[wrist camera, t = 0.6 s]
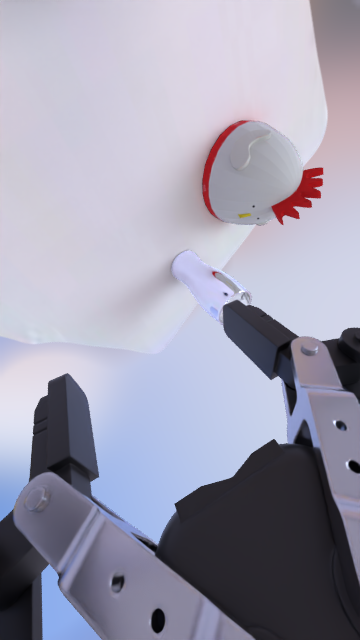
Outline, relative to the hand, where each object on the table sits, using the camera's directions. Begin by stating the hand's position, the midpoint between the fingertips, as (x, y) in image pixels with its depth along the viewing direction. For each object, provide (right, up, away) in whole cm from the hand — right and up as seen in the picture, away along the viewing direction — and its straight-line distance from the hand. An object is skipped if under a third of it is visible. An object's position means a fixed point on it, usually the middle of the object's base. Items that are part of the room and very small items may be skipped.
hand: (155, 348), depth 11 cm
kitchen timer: (+11, +26, +26) cm, 38 cm away
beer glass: (+2, +12, +32) cm, 34 cm away
